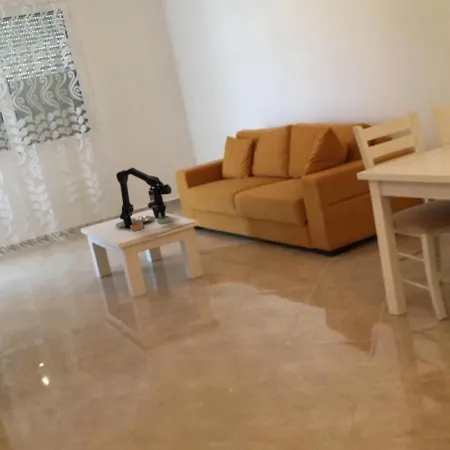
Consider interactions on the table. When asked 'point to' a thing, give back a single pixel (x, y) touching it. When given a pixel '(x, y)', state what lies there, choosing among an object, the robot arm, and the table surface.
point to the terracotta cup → (136, 226)
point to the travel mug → (155, 211)
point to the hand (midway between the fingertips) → (162, 217)
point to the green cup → (163, 220)
